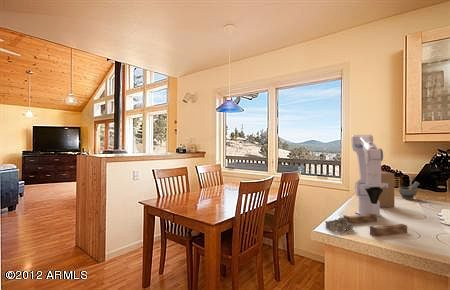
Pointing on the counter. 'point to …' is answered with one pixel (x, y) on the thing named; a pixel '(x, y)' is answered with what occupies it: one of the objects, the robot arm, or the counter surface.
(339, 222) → the egg carton
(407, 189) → the mortar and pestle
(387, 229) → the chute
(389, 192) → the wooden block
